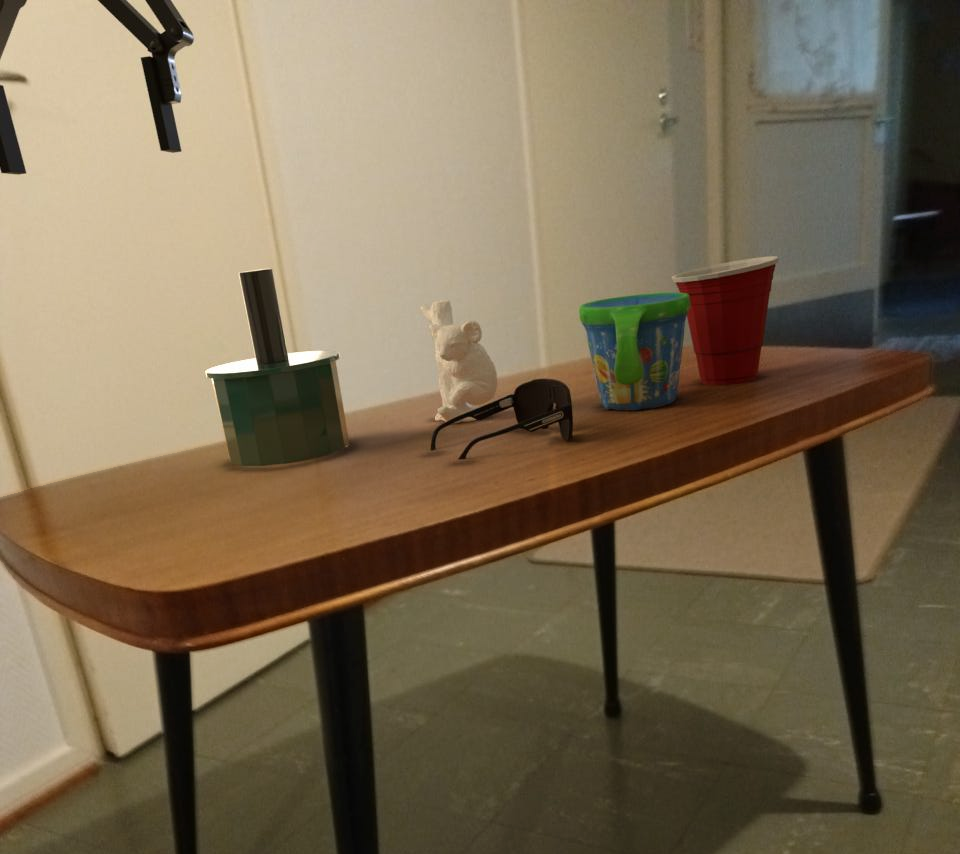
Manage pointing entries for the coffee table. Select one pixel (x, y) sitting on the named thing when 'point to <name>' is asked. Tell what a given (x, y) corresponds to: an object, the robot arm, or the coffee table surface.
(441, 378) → the koala figurine
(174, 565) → the coffee table surface
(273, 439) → the tin
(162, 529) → the coffee table surface
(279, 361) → the lid
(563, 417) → the sunglasses
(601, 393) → the snack cup
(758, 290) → the plastic cup
